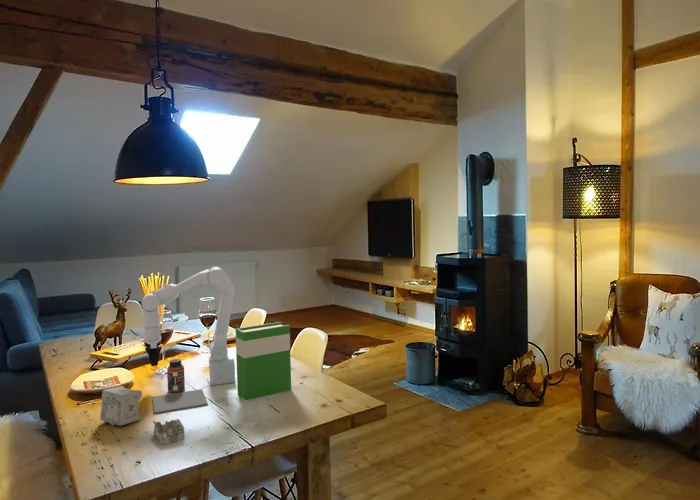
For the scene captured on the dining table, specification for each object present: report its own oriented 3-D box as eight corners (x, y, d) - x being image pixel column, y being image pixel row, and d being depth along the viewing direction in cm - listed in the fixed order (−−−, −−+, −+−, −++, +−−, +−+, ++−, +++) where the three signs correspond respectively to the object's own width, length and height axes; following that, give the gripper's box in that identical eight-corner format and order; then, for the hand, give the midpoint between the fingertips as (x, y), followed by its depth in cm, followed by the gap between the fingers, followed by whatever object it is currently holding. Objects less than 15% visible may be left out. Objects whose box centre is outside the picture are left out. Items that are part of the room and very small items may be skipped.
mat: (202, 390, 183) (201, 389, 183) (207, 405, 169) (207, 403, 169) (152, 398, 176) (152, 396, 176) (154, 414, 162) (154, 412, 162)
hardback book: (282, 384, 188) (280, 321, 187) (291, 389, 182) (289, 325, 180) (237, 394, 179) (235, 328, 177) (245, 400, 173) (243, 332, 171)
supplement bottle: (179, 393, 180) (178, 363, 179) (164, 392, 181) (163, 362, 180) (188, 388, 186) (186, 358, 185) (173, 387, 187) (172, 357, 186)
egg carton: (152, 433, 149) (151, 420, 149) (178, 427, 153) (177, 414, 152) (159, 447, 140) (158, 433, 139) (186, 440, 144) (186, 426, 143)
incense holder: (143, 419, 159) (142, 387, 158) (121, 429, 151) (119, 396, 150) (122, 413, 163) (121, 382, 162) (99, 423, 156) (97, 391, 155)
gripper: (139, 323, 188) (141, 359, 189) (140, 332, 175) (142, 369, 176) (159, 321, 191) (161, 356, 192) (162, 329, 178) (164, 366, 179)
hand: (153, 362), depth 184 cm, fingers open, 7 cm apart
